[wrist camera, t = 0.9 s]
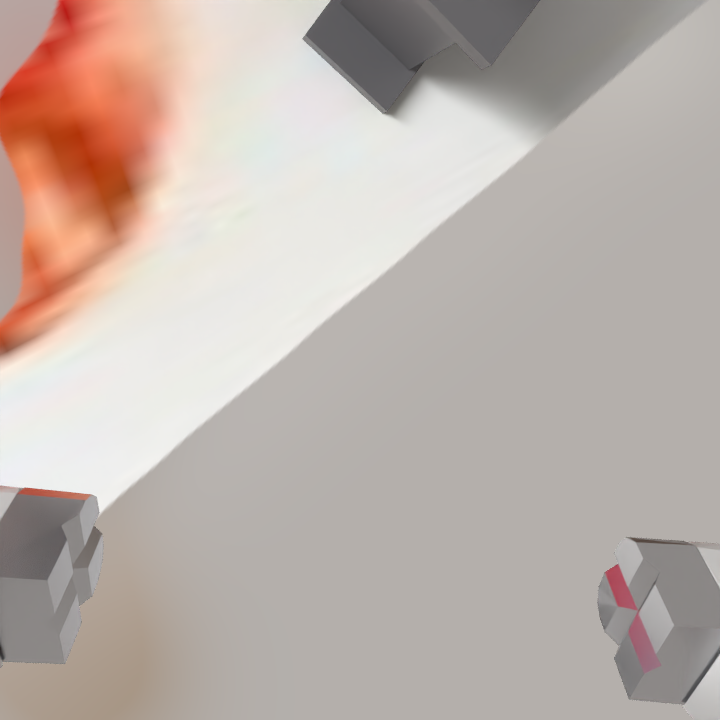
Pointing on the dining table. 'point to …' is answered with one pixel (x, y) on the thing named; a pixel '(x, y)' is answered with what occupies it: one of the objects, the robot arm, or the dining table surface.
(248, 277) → the dining table surface
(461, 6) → the cradle
